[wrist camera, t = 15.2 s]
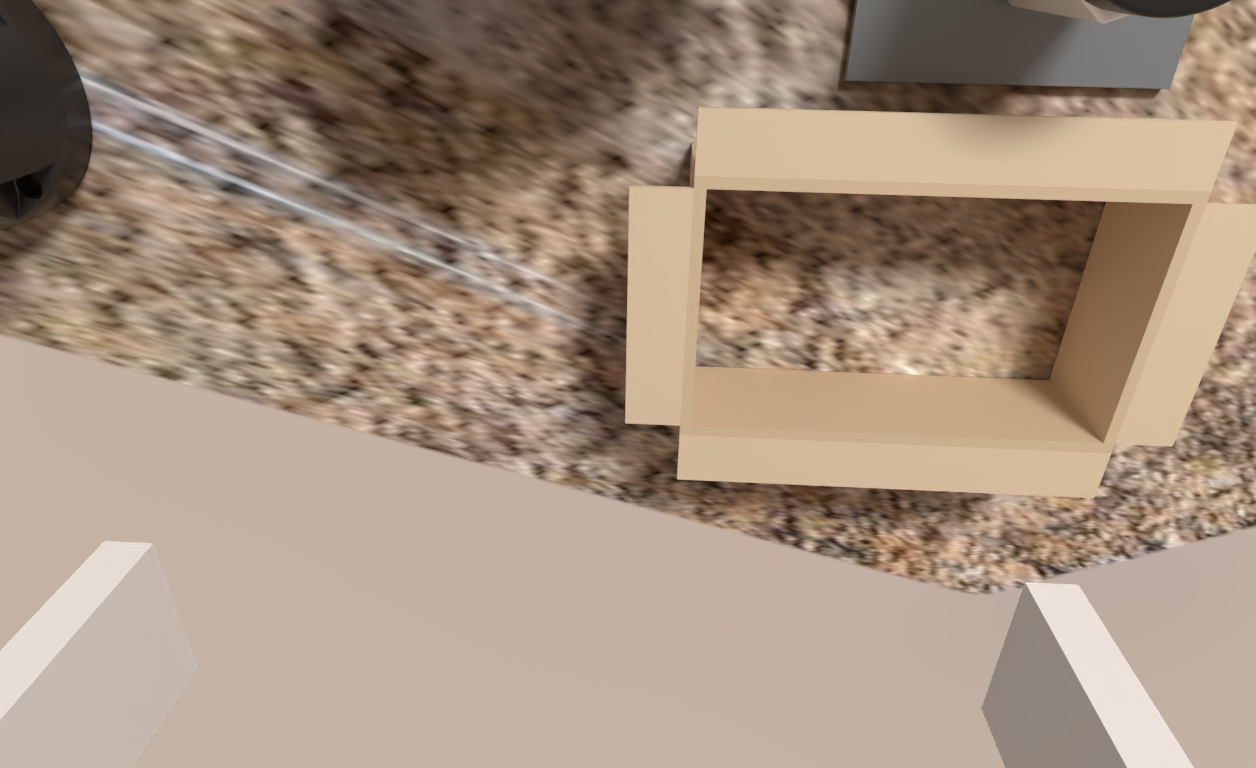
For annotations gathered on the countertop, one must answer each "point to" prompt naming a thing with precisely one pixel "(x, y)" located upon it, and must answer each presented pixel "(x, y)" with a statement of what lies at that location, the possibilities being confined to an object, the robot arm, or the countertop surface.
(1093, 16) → the jar
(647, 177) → the countertop surface
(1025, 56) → the plate
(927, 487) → the carton
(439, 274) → the countertop surface
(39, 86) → the robot arm
